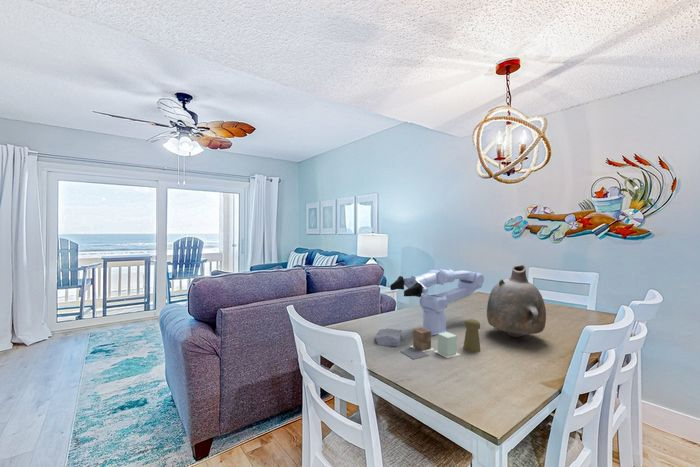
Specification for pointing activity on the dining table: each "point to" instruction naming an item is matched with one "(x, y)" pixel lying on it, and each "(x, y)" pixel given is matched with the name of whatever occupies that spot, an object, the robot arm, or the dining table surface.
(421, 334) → the walnut block
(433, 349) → the cream tile
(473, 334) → the cork
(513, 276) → the jug
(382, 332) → the stone block
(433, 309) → the robot arm
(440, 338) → the sage block
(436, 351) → the tile
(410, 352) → the charcoal mat
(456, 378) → the dining table surface
